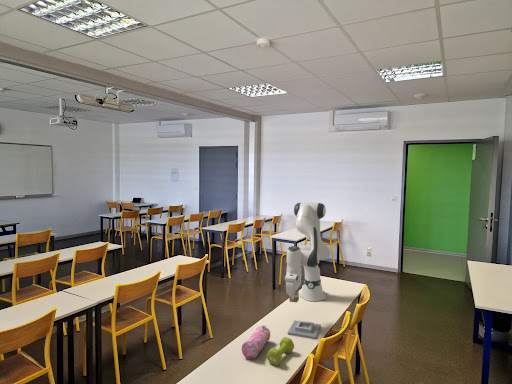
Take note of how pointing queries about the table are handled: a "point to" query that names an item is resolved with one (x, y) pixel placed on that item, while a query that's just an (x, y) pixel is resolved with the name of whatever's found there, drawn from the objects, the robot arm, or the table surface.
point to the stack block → (295, 297)
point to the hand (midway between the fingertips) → (294, 297)
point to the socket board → (304, 329)
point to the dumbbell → (280, 351)
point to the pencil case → (256, 342)
